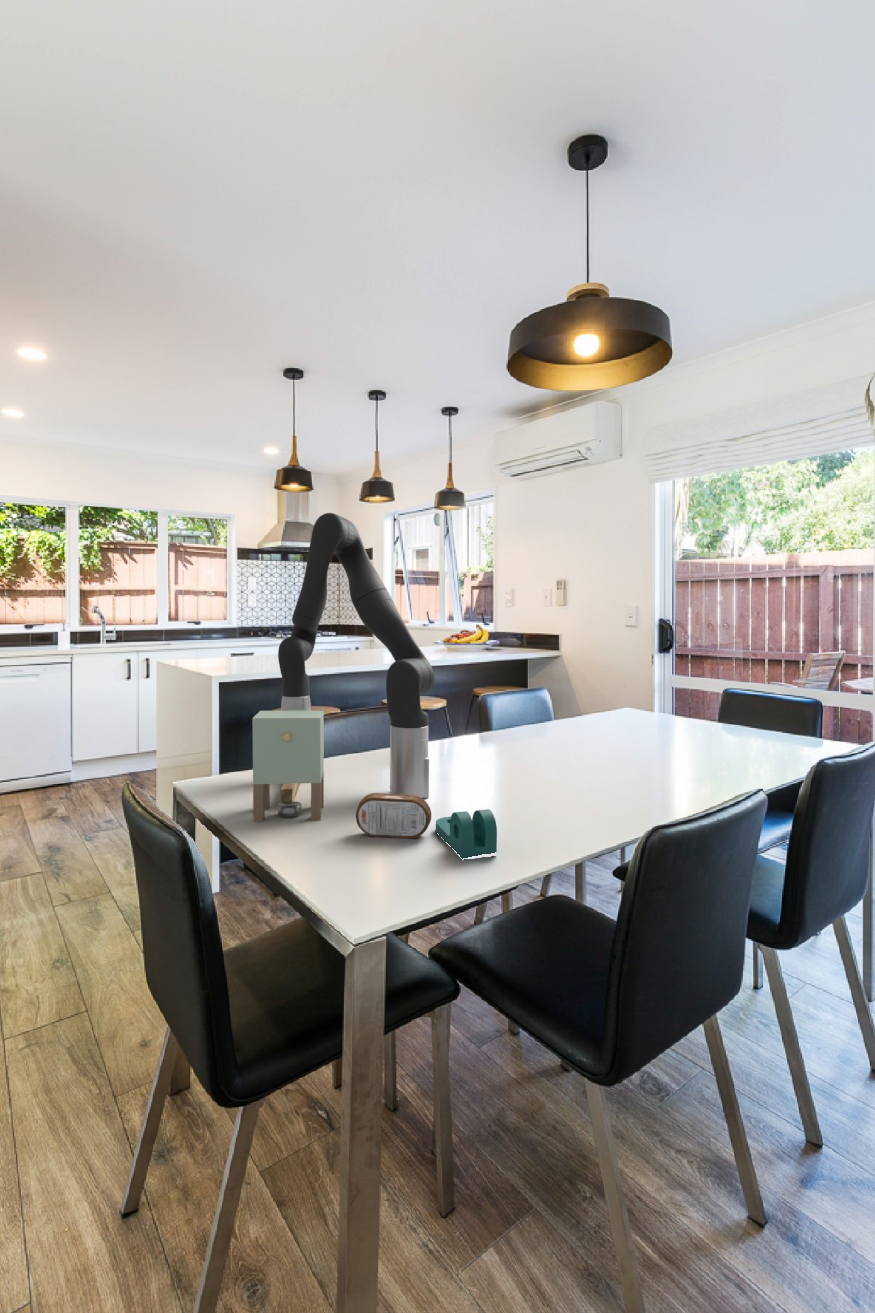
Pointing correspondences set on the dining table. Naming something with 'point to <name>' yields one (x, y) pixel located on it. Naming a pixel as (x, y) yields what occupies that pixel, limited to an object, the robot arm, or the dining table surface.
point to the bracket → (469, 832)
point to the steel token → (289, 809)
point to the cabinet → (288, 756)
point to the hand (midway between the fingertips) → (296, 777)
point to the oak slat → (289, 792)
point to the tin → (393, 815)
